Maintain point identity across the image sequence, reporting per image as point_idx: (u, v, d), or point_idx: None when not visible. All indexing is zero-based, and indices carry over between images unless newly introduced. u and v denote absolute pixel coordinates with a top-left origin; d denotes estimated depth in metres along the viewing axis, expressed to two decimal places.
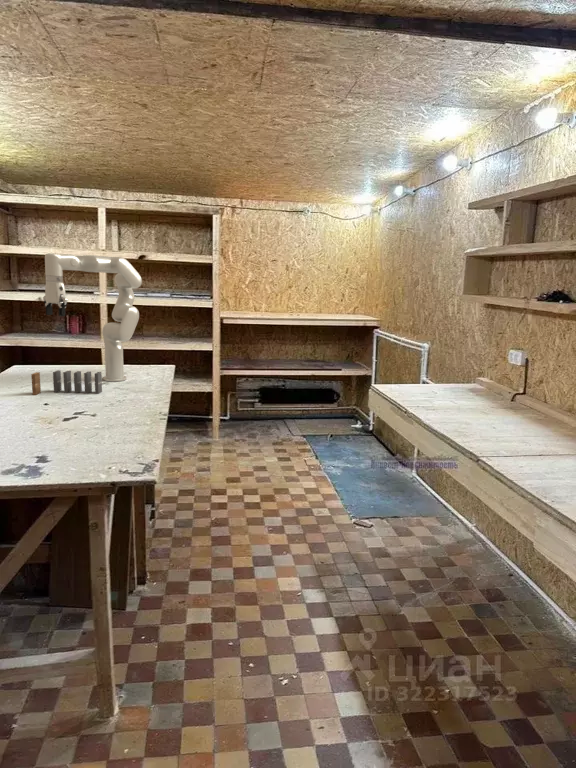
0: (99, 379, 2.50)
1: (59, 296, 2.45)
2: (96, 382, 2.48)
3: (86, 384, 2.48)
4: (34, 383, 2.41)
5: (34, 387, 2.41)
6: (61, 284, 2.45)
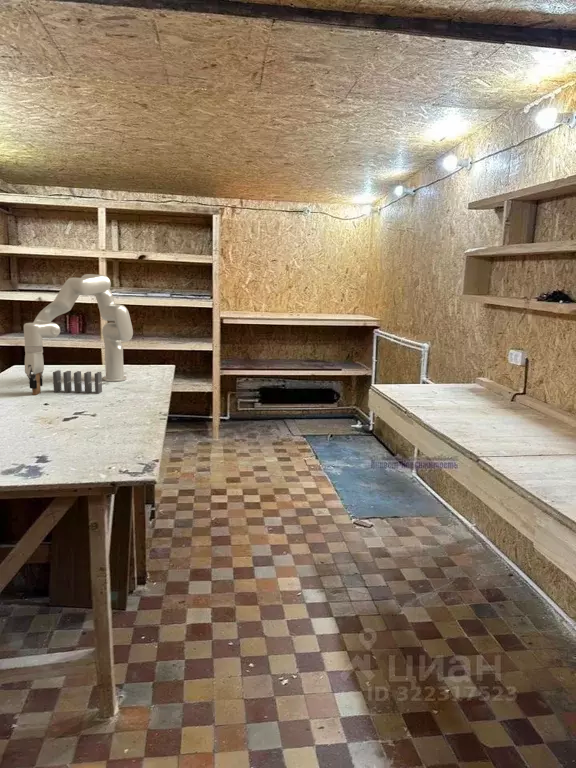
0: (99, 379, 2.50)
1: None
2: (96, 382, 2.48)
3: (86, 384, 2.48)
4: None
5: None
6: None
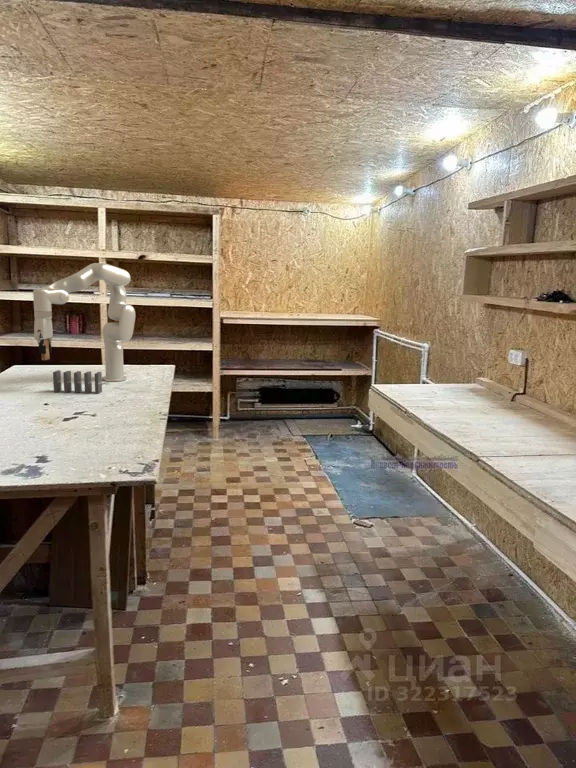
0: (99, 379, 2.50)
1: None
2: (96, 382, 2.48)
3: (86, 384, 2.48)
4: None
5: None
6: None
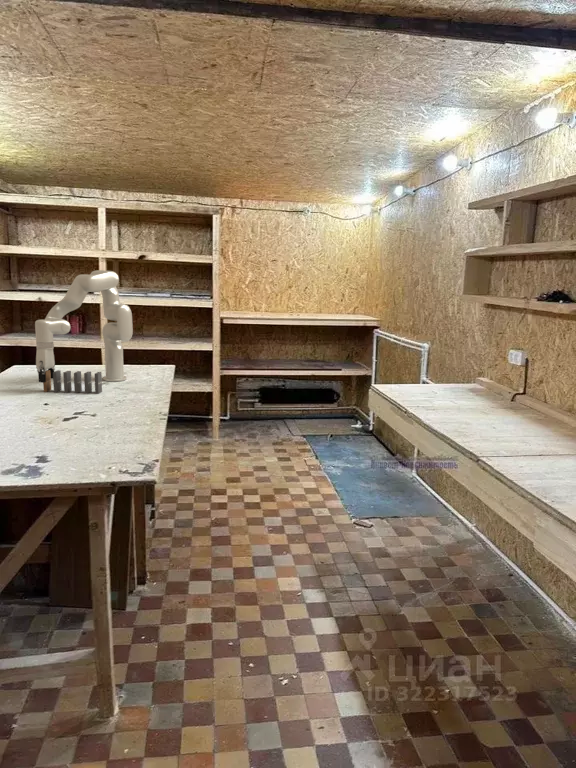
0: (99, 379, 2.50)
1: None
2: (96, 382, 2.48)
3: (86, 384, 2.48)
4: None
5: (45, 384, 2.48)
6: None
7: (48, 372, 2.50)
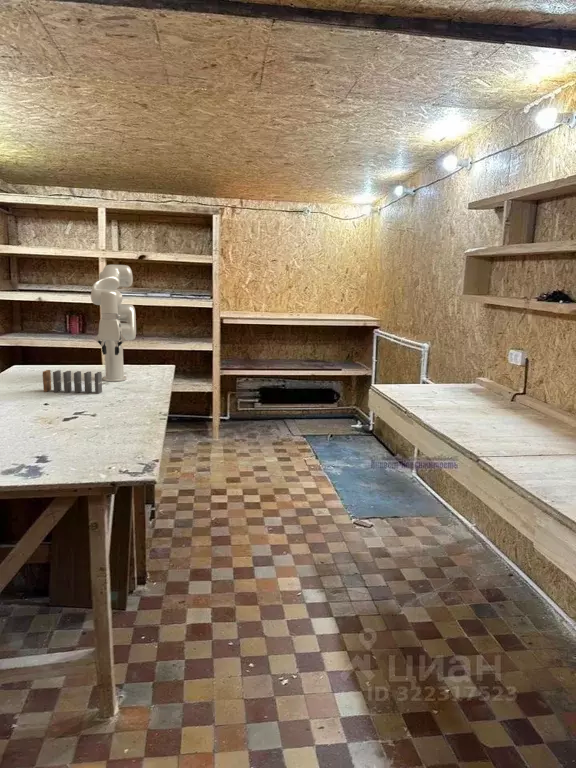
0: (99, 379, 2.50)
1: (119, 336, 2.45)
2: (96, 382, 2.48)
3: (86, 384, 2.48)
4: (45, 380, 2.48)
5: (45, 384, 2.48)
6: (119, 321, 2.45)
7: (48, 372, 2.50)
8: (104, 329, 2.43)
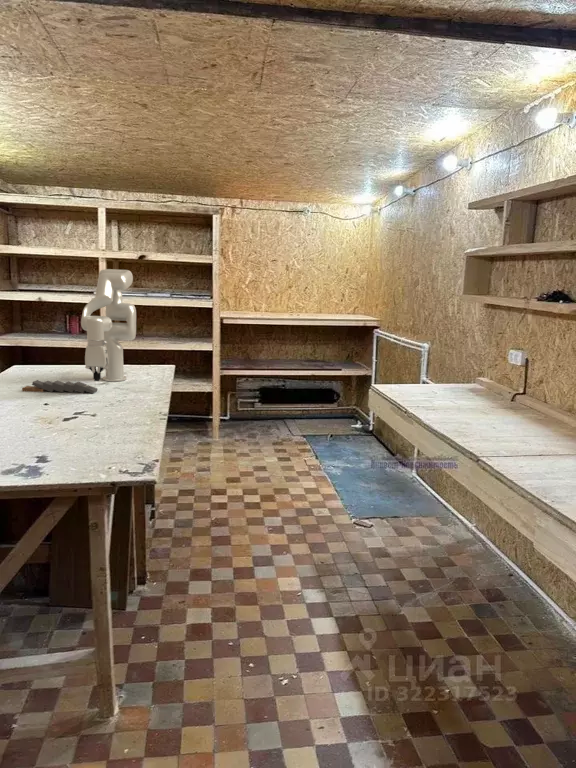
0: (82, 384, 2.50)
1: None
2: (82, 388, 2.48)
3: (74, 388, 2.48)
4: (31, 389, 2.48)
5: (35, 389, 2.48)
6: (105, 347, 2.48)
7: (26, 386, 2.51)
8: (90, 355, 2.45)
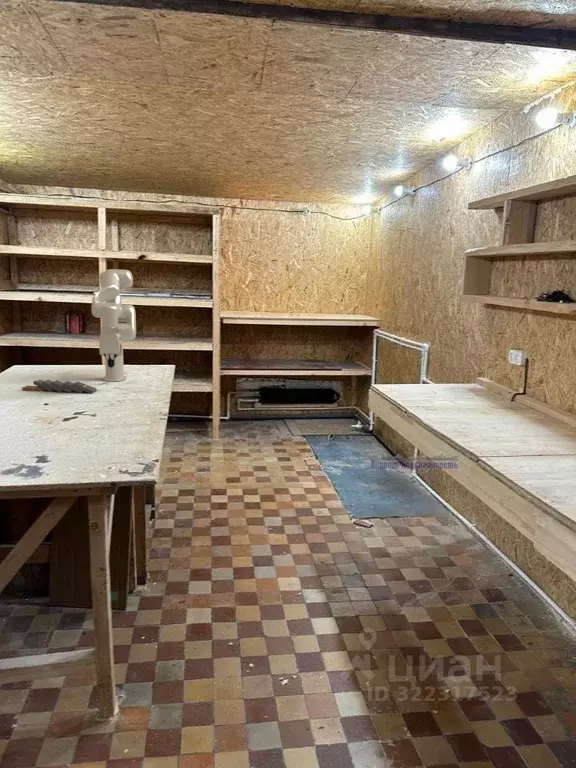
0: (81, 384, 2.50)
1: None
2: (81, 388, 2.48)
3: (73, 388, 2.49)
4: (31, 388, 2.49)
5: (34, 389, 2.49)
6: (119, 334, 2.50)
7: (26, 386, 2.52)
8: (105, 342, 2.48)
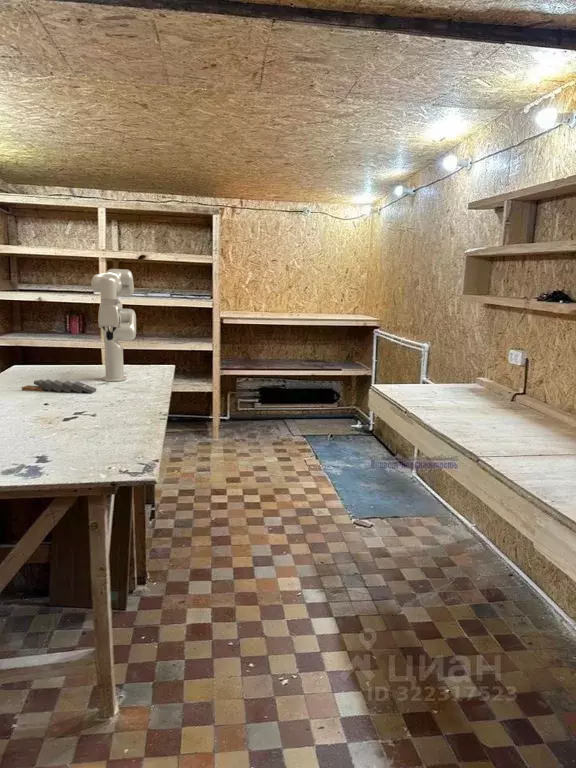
0: (81, 384, 2.50)
1: (117, 324, 2.54)
2: (80, 387, 2.49)
3: (73, 388, 2.49)
4: (30, 388, 2.50)
5: (34, 389, 2.49)
6: (118, 307, 2.54)
7: (26, 386, 2.52)
8: (103, 315, 2.51)
